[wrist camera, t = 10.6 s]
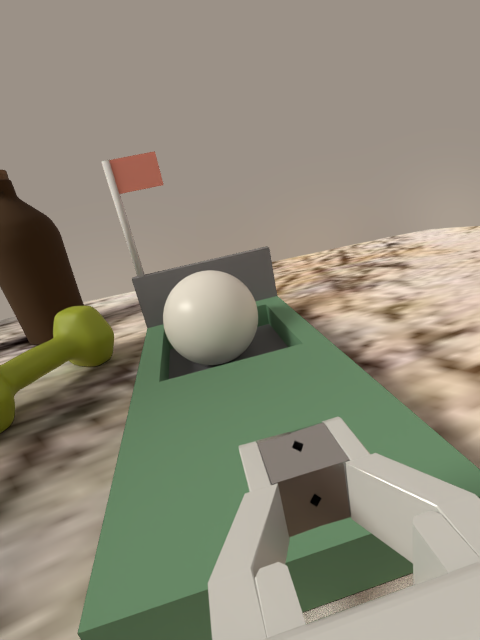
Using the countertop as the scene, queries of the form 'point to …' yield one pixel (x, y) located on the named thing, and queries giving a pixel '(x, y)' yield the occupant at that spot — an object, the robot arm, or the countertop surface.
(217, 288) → the ball
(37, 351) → the dumbbell
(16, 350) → the countertop surface
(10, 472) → the countertop surface
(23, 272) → the olive oil
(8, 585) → the countertop surface
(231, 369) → the putting green
